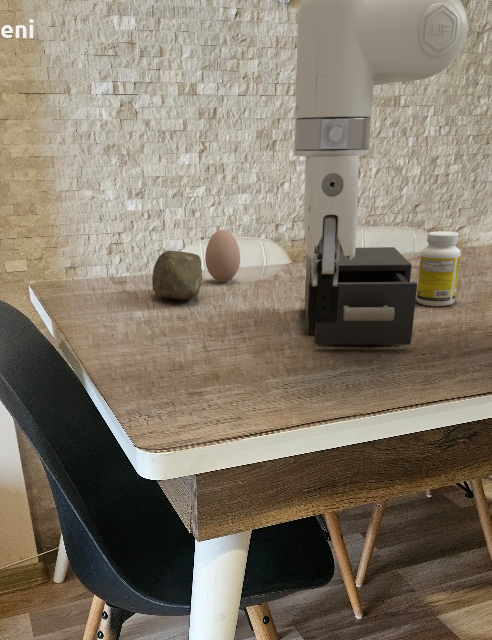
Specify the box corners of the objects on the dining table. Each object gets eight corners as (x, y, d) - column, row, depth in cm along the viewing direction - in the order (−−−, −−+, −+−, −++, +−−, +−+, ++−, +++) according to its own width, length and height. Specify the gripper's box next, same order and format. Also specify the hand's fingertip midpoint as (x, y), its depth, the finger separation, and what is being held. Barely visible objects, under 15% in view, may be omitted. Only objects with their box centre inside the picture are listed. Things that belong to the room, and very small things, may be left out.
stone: (217, 305, 113) (216, 256, 110) (167, 310, 111) (164, 260, 107) (187, 286, 127) (185, 243, 124) (142, 291, 125) (139, 246, 121)
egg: (224, 277, 135) (223, 226, 131) (247, 281, 131) (247, 229, 126) (198, 282, 131) (197, 230, 127) (221, 287, 127) (220, 233, 122)
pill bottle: (431, 297, 115) (439, 229, 110) (461, 303, 110) (472, 232, 105) (407, 302, 112) (415, 233, 107) (438, 309, 107) (447, 236, 102)
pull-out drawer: (416, 354, 83) (424, 290, 79) (316, 354, 84) (319, 291, 80) (393, 317, 99) (399, 263, 96) (310, 317, 100) (312, 264, 97)
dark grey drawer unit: (404, 334, 94) (411, 264, 90) (307, 334, 95) (310, 265, 91) (388, 309, 108) (394, 247, 104) (304, 309, 109) (306, 248, 105)
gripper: (379, 139, 60) (362, 339, 69) (361, 138, 73) (349, 306, 82) (295, 140, 61) (289, 338, 69) (292, 139, 74) (287, 306, 82)
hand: (321, 320), depth 75 cm, fingers closed
